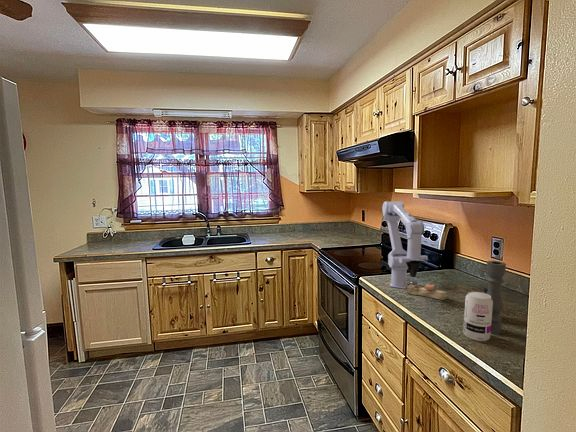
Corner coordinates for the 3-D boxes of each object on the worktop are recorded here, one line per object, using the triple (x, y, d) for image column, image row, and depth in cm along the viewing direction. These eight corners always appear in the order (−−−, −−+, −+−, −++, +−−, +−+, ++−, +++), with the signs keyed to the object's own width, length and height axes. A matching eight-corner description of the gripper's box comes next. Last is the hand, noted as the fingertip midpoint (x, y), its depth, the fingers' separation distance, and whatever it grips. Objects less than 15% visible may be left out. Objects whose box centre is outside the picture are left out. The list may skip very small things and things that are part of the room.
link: (406, 292, 154) (406, 286, 154) (409, 290, 158) (409, 284, 157) (443, 300, 144) (444, 294, 144) (446, 297, 148) (446, 291, 147)
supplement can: (478, 329, 118) (480, 290, 116) (495, 341, 110) (499, 298, 108) (457, 331, 117) (460, 291, 115) (474, 343, 108) (477, 300, 107)
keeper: (423, 297, 150) (424, 286, 149) (427, 293, 154) (427, 283, 154) (430, 298, 148) (431, 287, 147) (434, 294, 152) (434, 284, 152)
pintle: (409, 291, 157) (410, 280, 156) (417, 292, 155) (417, 281, 155) (408, 293, 154) (409, 282, 153) (416, 294, 152) (416, 283, 152)
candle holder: (478, 329, 118) (483, 262, 115) (485, 324, 122) (490, 259, 119) (497, 335, 114) (502, 266, 110) (504, 330, 117) (509, 263, 114)
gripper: (406, 250, 142) (405, 280, 144) (433, 248, 147) (431, 277, 148) (396, 247, 149) (395, 276, 150) (422, 245, 153) (420, 272, 155)
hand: (412, 276), depth 150 cm, fingers closed
